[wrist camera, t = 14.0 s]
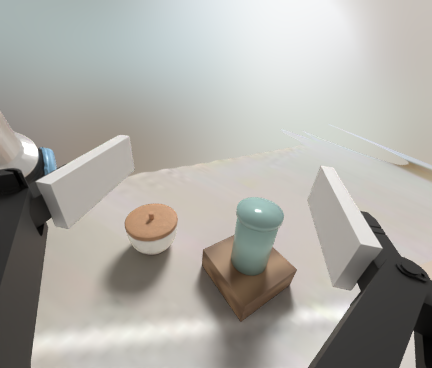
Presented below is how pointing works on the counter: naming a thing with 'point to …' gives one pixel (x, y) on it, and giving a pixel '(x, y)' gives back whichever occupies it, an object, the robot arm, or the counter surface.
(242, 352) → the counter surface
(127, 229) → the lidded jar
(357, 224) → the robot arm
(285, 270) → the slab
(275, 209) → the canister
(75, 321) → the counter surface
